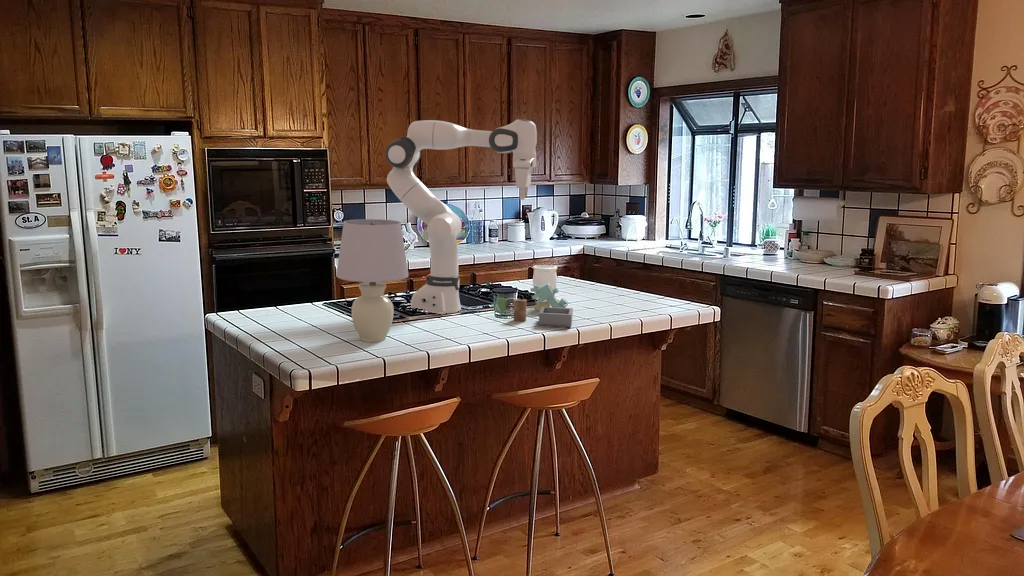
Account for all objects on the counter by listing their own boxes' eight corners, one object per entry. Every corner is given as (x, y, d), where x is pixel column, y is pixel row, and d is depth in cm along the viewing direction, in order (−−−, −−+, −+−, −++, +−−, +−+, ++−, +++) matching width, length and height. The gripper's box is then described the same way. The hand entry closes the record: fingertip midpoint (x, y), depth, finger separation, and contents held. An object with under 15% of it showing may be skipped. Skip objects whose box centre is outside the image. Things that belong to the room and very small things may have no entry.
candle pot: (538, 326, 292) (539, 313, 291) (541, 319, 303) (541, 306, 302) (570, 328, 290) (571, 314, 289) (572, 320, 302) (572, 308, 301)
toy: (571, 311, 315) (555, 279, 311) (541, 323, 318) (524, 292, 314) (571, 301, 324) (556, 270, 320) (542, 313, 328) (527, 283, 323)
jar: (533, 297, 345) (534, 263, 343) (556, 298, 344) (558, 265, 341) (530, 302, 335) (532, 267, 332) (554, 303, 334) (556, 268, 331)
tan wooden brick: (513, 320, 299) (514, 300, 298) (514, 319, 302) (515, 299, 300) (525, 321, 299) (525, 301, 297) (526, 320, 301) (526, 299, 300)
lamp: (326, 335, 269) (324, 219, 262) (389, 327, 283) (388, 217, 275) (354, 351, 250) (353, 227, 243) (420, 342, 264) (421, 224, 256)
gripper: (519, 161, 310) (518, 196, 312) (513, 162, 290) (512, 200, 293) (535, 162, 309) (533, 197, 312) (530, 163, 289) (528, 200, 292)
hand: (523, 198), depth 302 cm, fingers open, 8 cm apart
